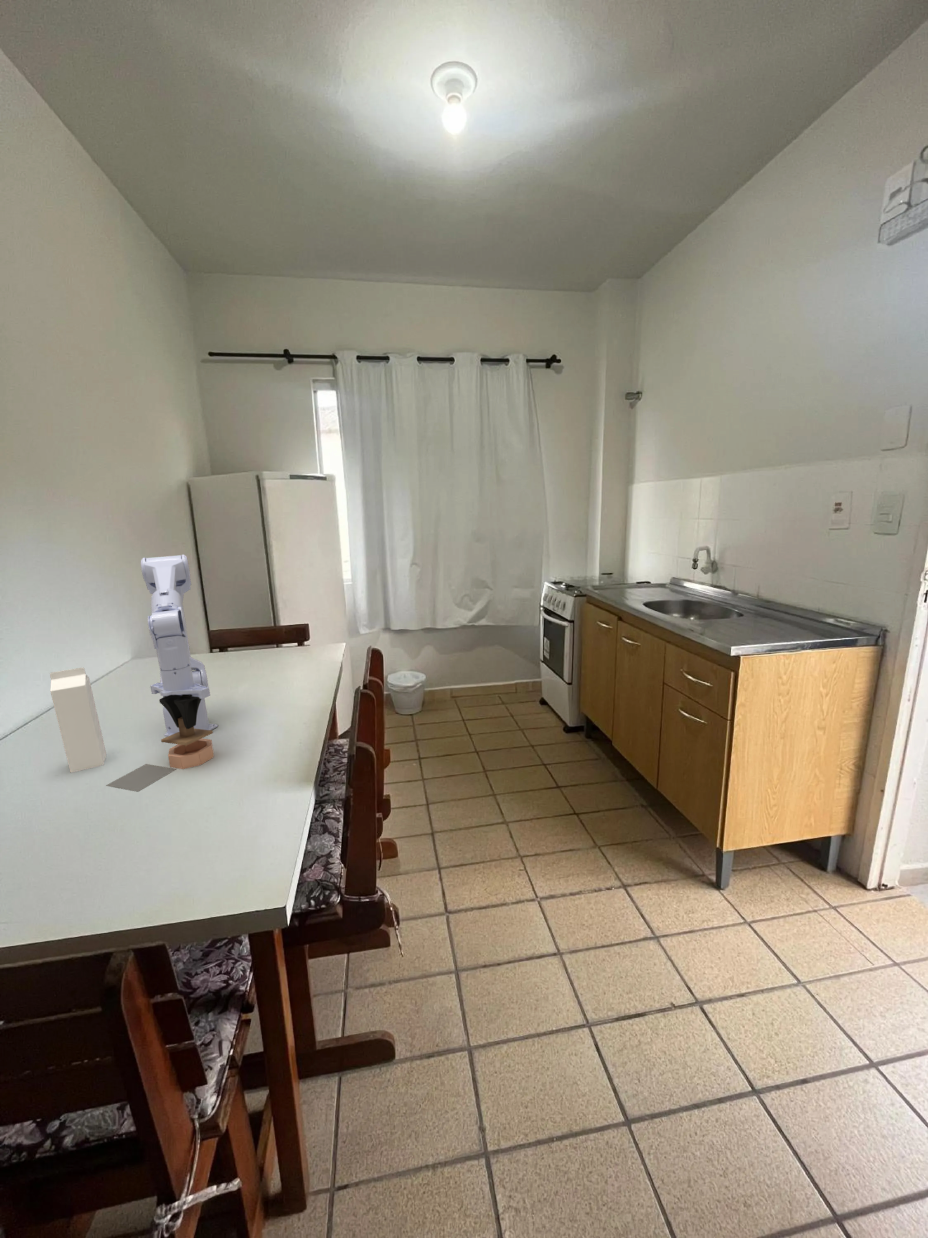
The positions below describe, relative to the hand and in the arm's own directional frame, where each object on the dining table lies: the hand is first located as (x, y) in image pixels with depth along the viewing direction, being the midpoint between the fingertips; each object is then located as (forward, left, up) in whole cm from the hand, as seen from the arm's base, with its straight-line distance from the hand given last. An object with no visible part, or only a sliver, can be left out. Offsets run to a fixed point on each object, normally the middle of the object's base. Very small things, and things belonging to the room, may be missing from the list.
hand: (186, 726), depth 111 cm
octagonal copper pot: (0, 0, -8) cm, 8 cm away
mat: (-4, -9, -8) cm, 13 cm away
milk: (-22, -7, -8) cm, 25 cm away
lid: (0, 0, -2) cm, 3 cm away
